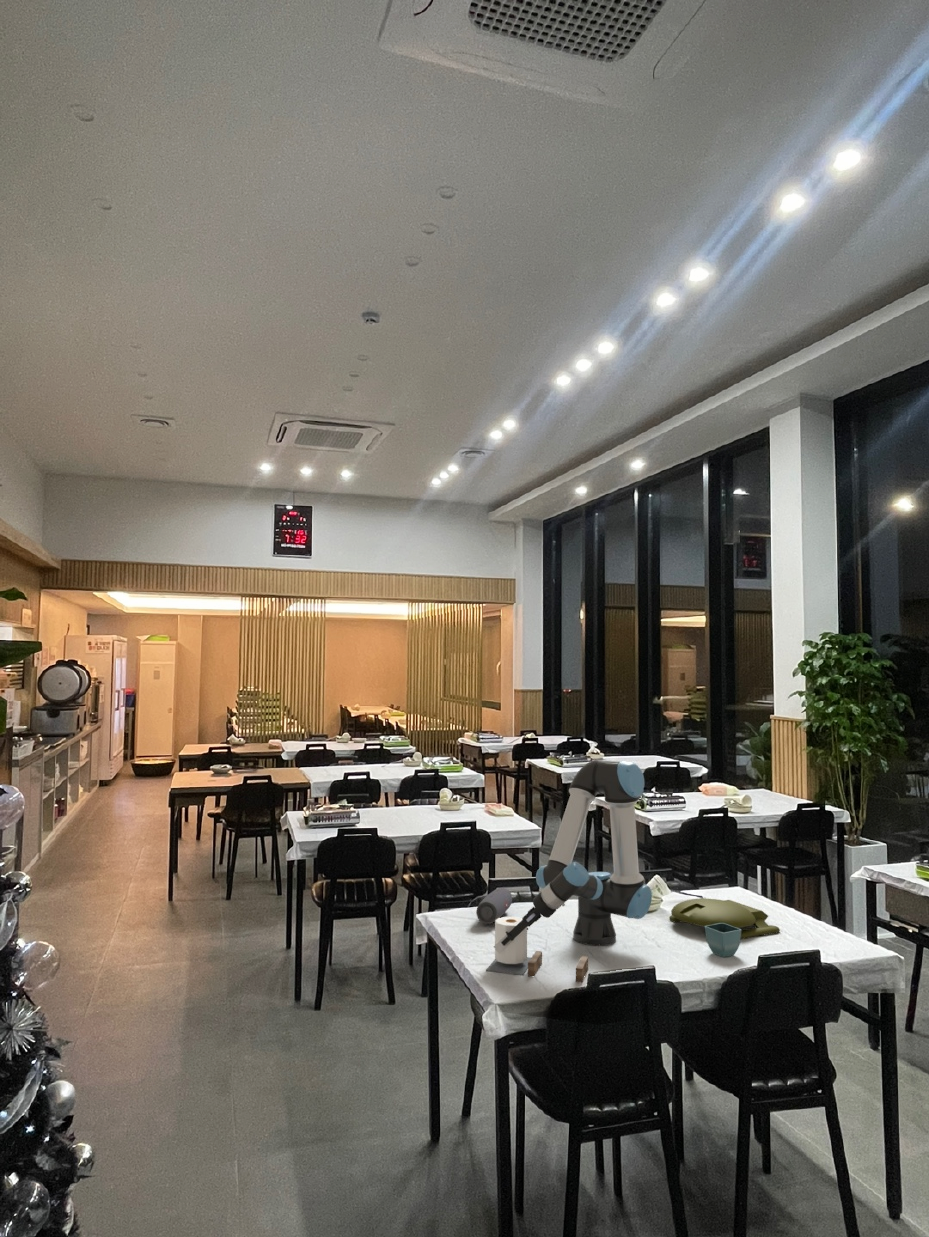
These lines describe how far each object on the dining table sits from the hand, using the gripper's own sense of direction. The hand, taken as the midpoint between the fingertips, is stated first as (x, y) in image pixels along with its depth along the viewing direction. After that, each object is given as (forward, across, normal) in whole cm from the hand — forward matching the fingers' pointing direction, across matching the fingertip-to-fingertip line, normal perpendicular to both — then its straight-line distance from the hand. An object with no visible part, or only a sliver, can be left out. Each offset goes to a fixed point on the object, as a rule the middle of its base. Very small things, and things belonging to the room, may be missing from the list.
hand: (502, 944), depth 265 cm
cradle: (-9, -1, -18) cm, 20 cm away
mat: (+2, 0, -6) cm, 7 cm away
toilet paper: (+1, 0, -5) cm, 5 cm away
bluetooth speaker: (+18, +46, +9) cm, 51 cm away
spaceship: (-38, +72, -48) cm, 95 cm away
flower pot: (-42, +40, -51) cm, 77 cm away
